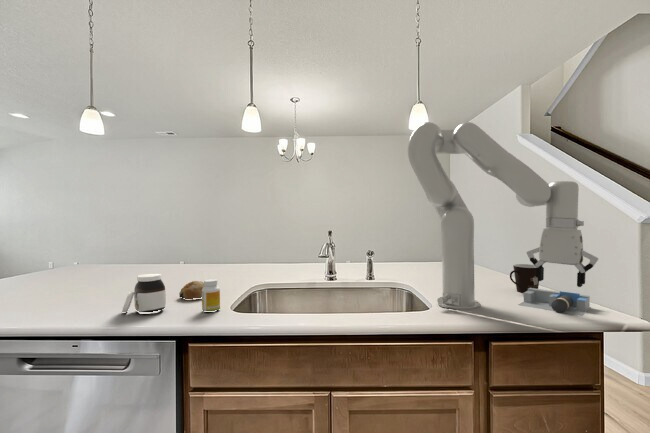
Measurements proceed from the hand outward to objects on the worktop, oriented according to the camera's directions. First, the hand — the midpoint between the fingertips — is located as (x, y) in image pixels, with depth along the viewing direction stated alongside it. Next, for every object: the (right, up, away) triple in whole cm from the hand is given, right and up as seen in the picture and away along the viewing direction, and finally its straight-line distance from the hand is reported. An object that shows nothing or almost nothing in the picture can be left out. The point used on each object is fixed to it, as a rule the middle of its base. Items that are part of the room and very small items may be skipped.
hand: (559, 283), depth 100 cm
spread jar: (-125, -11, +8) cm, 126 cm away
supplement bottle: (-104, -11, +9) cm, 105 cm away
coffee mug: (+4, -9, +25) cm, 27 cm away
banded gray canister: (+2, -8, +1) cm, 8 cm away
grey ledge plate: (+2, -9, +6) cm, 11 cm away
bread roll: (-116, -11, +27) cm, 119 cm away
